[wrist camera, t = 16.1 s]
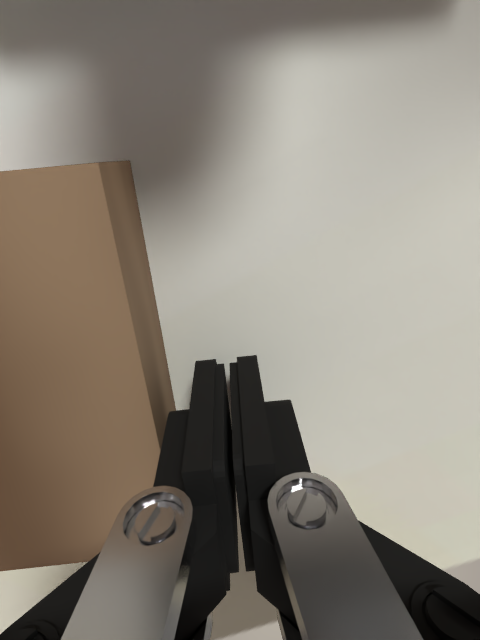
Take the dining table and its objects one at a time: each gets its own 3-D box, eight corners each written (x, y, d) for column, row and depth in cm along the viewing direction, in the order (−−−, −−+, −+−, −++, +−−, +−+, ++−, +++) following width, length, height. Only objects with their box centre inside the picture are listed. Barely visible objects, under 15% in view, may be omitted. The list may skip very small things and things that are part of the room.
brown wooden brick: (133, 160, 9) (97, 162, 7) (189, 469, 13) (181, 551, 11) (-199, 190, 9) (-375, 206, 6) (-42, 494, 13) (-110, 583, 10)
